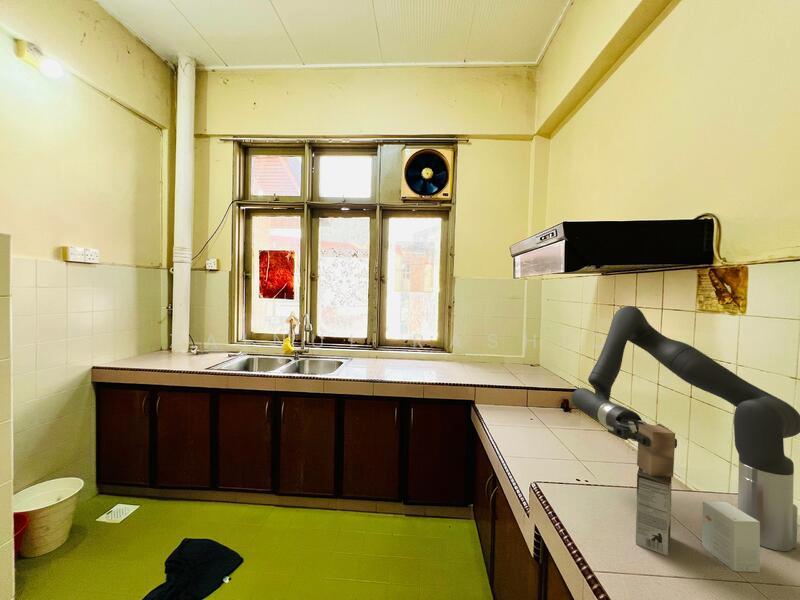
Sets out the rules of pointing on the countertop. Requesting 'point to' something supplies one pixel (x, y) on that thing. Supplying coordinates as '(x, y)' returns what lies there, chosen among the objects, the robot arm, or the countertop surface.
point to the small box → (731, 536)
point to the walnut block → (657, 451)
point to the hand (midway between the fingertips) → (661, 443)
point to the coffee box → (653, 512)
